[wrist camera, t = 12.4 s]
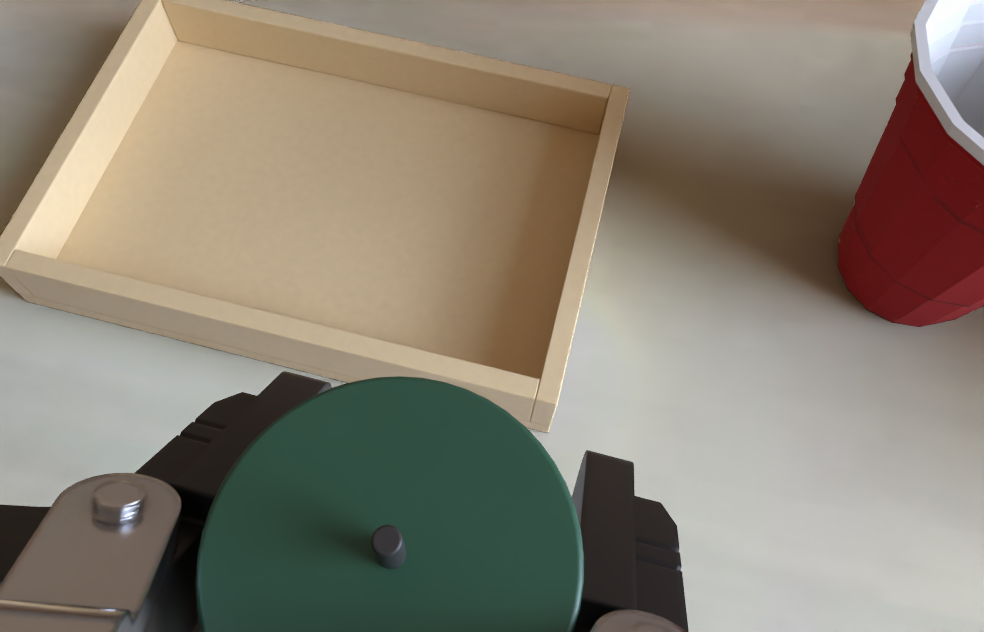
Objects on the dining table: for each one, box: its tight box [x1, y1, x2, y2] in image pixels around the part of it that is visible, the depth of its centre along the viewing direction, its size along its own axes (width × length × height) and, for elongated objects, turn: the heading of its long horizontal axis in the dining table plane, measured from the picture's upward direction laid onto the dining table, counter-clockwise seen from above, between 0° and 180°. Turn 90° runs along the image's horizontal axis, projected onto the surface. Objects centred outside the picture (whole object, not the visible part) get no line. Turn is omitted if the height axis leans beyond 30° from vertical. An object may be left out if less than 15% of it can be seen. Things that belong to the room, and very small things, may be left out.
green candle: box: [195, 376, 584, 632], centre depth 12 cm, size 4×4×9 cm
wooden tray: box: [0, 0, 630, 433], centre depth 34 cm, size 22×15×3 cm
